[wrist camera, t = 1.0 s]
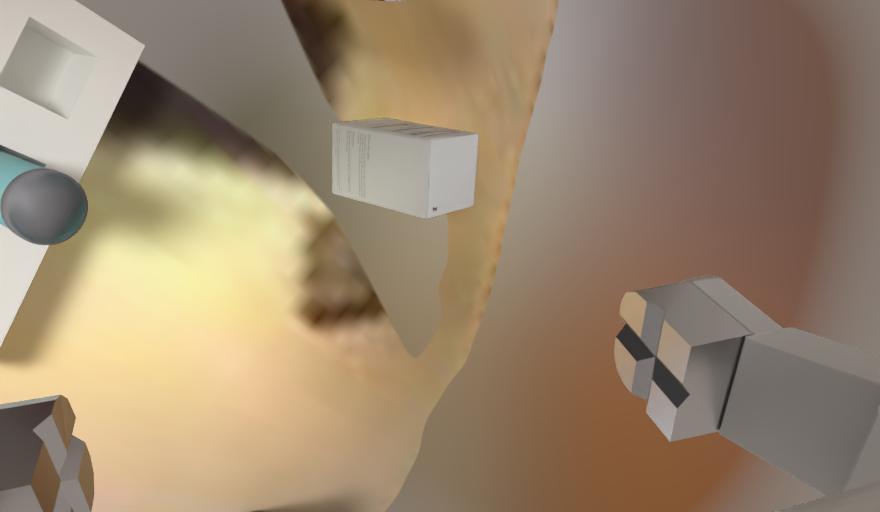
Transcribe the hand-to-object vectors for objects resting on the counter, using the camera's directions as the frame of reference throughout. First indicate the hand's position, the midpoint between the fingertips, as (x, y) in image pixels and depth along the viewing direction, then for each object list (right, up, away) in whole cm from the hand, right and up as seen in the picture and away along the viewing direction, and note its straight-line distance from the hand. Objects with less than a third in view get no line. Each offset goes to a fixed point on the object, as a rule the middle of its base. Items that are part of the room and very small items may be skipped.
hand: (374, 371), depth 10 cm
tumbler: (-28, +7, +32) cm, 43 cm away
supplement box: (-8, +12, +59) cm, 61 cm away
